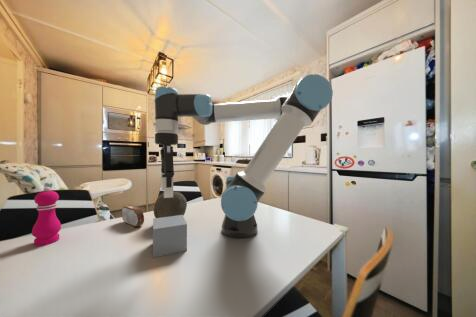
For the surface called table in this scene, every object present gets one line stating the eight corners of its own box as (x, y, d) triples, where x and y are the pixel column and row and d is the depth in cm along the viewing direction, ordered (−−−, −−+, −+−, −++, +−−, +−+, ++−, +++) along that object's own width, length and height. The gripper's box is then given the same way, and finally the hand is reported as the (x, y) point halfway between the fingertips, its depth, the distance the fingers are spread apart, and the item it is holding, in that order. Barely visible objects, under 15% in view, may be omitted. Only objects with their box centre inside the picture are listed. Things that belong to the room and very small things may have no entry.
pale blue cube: (182, 237, 68) (182, 214, 68) (186, 250, 59) (186, 224, 59) (153, 242, 64) (153, 218, 63) (152, 257, 54) (153, 229, 54)
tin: (144, 227, 78) (144, 208, 78) (137, 229, 75) (137, 209, 75) (127, 220, 86) (127, 203, 86) (120, 222, 83) (120, 204, 83)
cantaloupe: (186, 228, 76) (186, 194, 76) (150, 232, 72) (151, 196, 72) (186, 217, 90) (186, 188, 90) (156, 220, 86) (156, 189, 86)
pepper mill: (46, 237, 67) (46, 185, 67) (66, 236, 68) (66, 185, 68) (25, 247, 60) (24, 188, 60) (48, 246, 61) (47, 188, 60)
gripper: (154, 136, 71) (154, 188, 72) (156, 127, 49) (156, 203, 49) (173, 137, 75) (173, 187, 75) (183, 129, 52) (183, 200, 53)
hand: (166, 193), depth 62 cm, fingers open, 13 cm apart
